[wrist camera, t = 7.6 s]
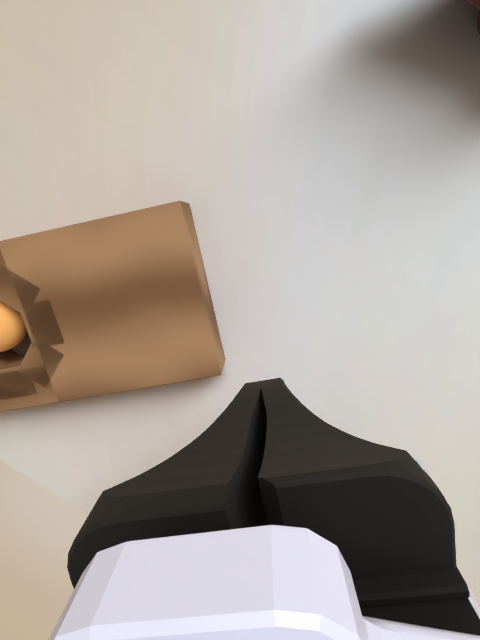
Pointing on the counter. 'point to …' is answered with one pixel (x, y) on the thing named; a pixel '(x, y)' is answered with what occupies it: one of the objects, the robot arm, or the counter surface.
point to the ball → (10, 327)
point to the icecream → (477, 1)
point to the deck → (108, 308)
